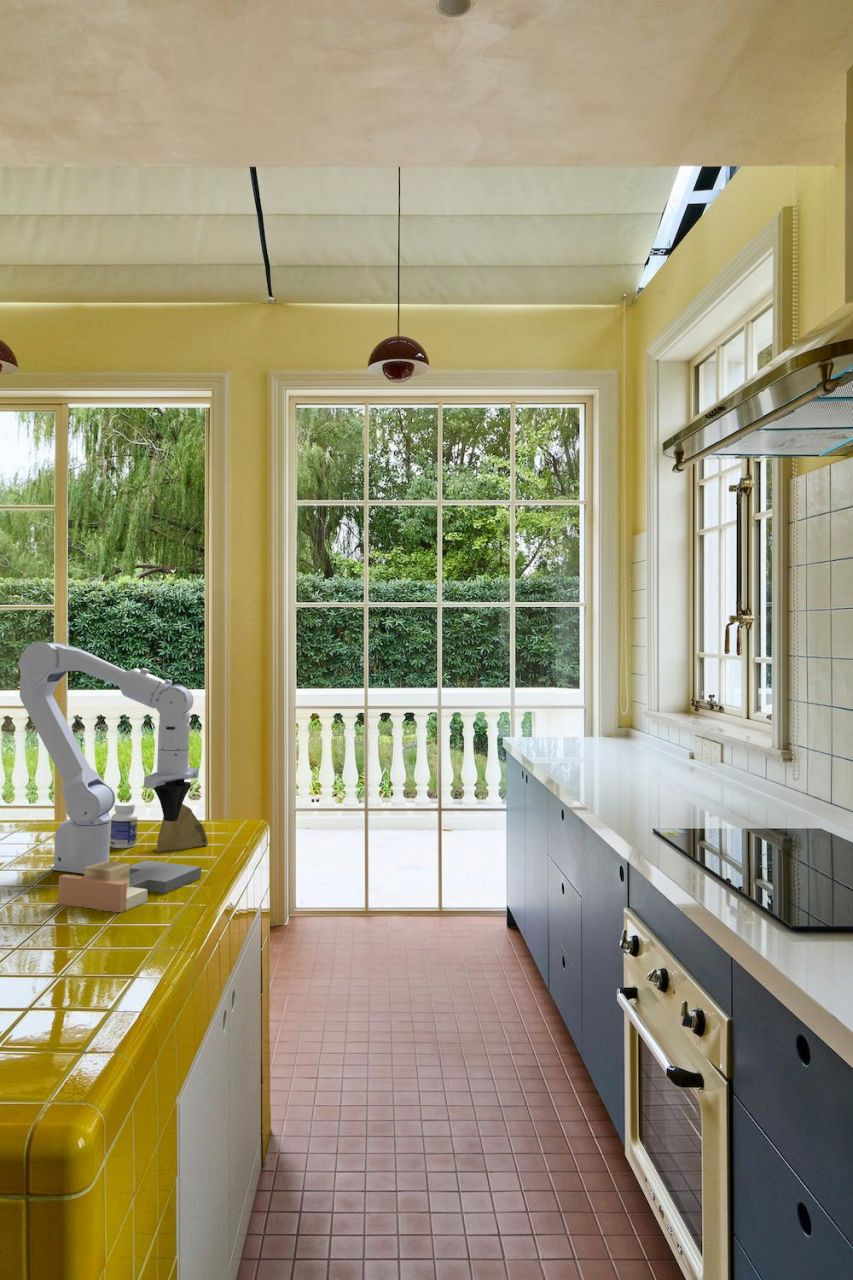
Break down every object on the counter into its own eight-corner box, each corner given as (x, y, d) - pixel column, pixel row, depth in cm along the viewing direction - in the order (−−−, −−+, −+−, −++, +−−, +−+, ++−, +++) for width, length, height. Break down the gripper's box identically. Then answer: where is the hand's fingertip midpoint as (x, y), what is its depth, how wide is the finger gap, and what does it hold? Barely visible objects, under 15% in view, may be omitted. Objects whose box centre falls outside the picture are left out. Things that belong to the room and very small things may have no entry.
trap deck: (58, 904, 137) (59, 876, 137) (145, 870, 159) (146, 847, 159) (119, 913, 134) (120, 884, 134) (200, 877, 156) (201, 853, 156)
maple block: (83, 892, 138) (84, 867, 138) (104, 884, 142) (105, 860, 142) (109, 895, 136) (110, 870, 136) (129, 887, 141) (130, 863, 141)
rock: (213, 830, 186) (168, 823, 185) (215, 804, 181) (168, 796, 180) (201, 870, 177) (153, 863, 176) (202, 843, 172) (153, 836, 171)
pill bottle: (134, 848, 176) (135, 806, 176) (107, 849, 175) (109, 806, 176) (138, 843, 182) (139, 801, 182) (112, 843, 181) (114, 801, 181)
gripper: (168, 754, 152) (165, 829, 152) (212, 746, 166) (210, 815, 166) (135, 751, 155) (132, 826, 154) (182, 744, 168) (179, 812, 168)
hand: (171, 820), depth 160 cm, fingers closed
